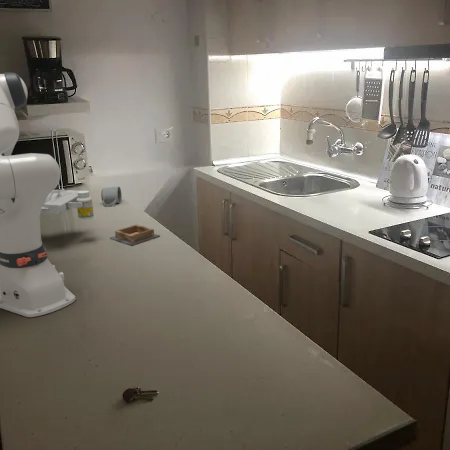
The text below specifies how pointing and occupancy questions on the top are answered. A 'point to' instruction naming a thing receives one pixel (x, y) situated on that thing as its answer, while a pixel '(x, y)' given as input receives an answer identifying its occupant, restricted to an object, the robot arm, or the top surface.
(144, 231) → the wooden tray
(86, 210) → the supplement bottle
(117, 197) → the ceramic mug
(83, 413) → the top surface
